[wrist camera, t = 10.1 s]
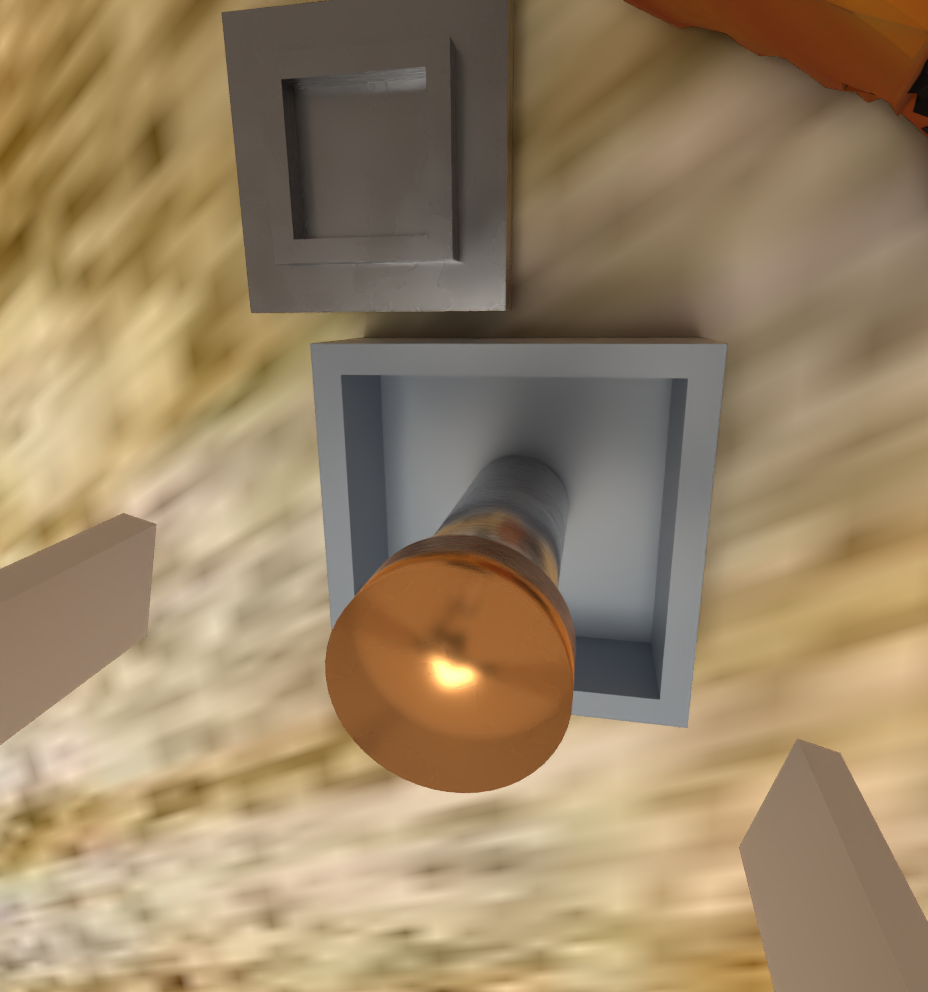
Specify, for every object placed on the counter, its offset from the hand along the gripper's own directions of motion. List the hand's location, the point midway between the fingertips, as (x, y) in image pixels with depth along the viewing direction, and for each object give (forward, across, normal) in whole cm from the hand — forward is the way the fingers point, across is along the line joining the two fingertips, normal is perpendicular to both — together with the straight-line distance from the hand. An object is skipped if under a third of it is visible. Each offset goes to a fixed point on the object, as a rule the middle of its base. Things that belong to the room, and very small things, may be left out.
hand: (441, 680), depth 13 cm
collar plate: (+15, -8, +10) cm, 20 cm away
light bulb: (+13, 0, -1) cm, 13 cm away
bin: (+14, 0, -1) cm, 14 cm away
